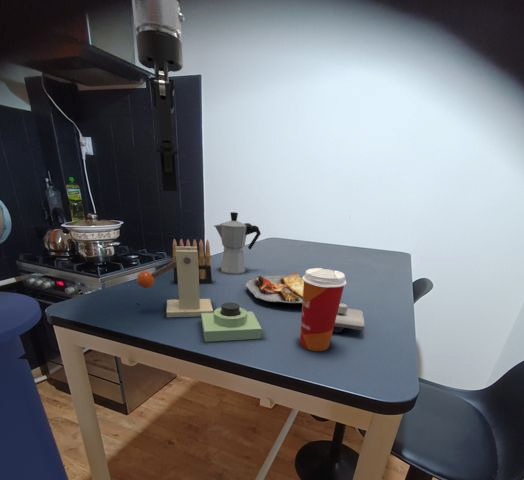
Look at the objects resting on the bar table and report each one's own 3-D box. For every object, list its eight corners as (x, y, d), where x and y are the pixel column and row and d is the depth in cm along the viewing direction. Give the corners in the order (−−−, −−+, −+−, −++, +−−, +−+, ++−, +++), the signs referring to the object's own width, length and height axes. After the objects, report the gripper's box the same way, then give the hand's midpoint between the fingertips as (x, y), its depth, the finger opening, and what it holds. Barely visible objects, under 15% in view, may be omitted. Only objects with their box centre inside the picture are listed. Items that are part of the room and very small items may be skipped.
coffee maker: (213, 273, 101) (212, 212, 93) (214, 266, 109) (214, 209, 101) (259, 275, 103) (262, 215, 94) (257, 268, 111) (260, 212, 102)
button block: (204, 341, 60) (204, 322, 58) (201, 322, 67) (200, 304, 65) (261, 338, 62) (262, 320, 60) (252, 320, 70) (252, 303, 68)
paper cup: (300, 332, 66) (309, 265, 59) (337, 340, 64) (350, 271, 57) (289, 348, 59) (297, 274, 53) (330, 358, 57) (344, 282, 50)
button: (222, 317, 61) (222, 309, 60) (220, 310, 64) (220, 302, 63) (240, 317, 62) (241, 308, 61) (237, 310, 65) (238, 302, 64)
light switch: (360, 320, 73) (364, 300, 71) (362, 338, 65) (367, 316, 63) (317, 315, 75) (320, 294, 73) (314, 332, 67) (317, 309, 64)
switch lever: (142, 293, 67) (132, 278, 65) (144, 288, 70) (134, 273, 68) (197, 263, 67) (188, 248, 65) (196, 259, 70) (187, 244, 68)
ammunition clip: (211, 281, 94) (210, 239, 88) (211, 283, 92) (211, 240, 87) (174, 281, 91) (170, 238, 86) (174, 283, 90) (170, 239, 84)
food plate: (237, 282, 94) (237, 271, 92) (308, 280, 101) (309, 269, 99) (263, 314, 73) (264, 300, 72) (350, 308, 80) (352, 295, 79)
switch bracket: (166, 317, 69) (160, 252, 62) (167, 304, 75) (162, 244, 69) (213, 315, 71) (212, 253, 64) (209, 303, 78) (208, 245, 71)
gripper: (182, 25, 49) (189, 193, 61) (181, 52, 60) (187, 190, 72) (131, 16, 48) (148, 191, 59) (139, 45, 59) (152, 188, 70)
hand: (170, 190), depth 65 cm, fingers closed
